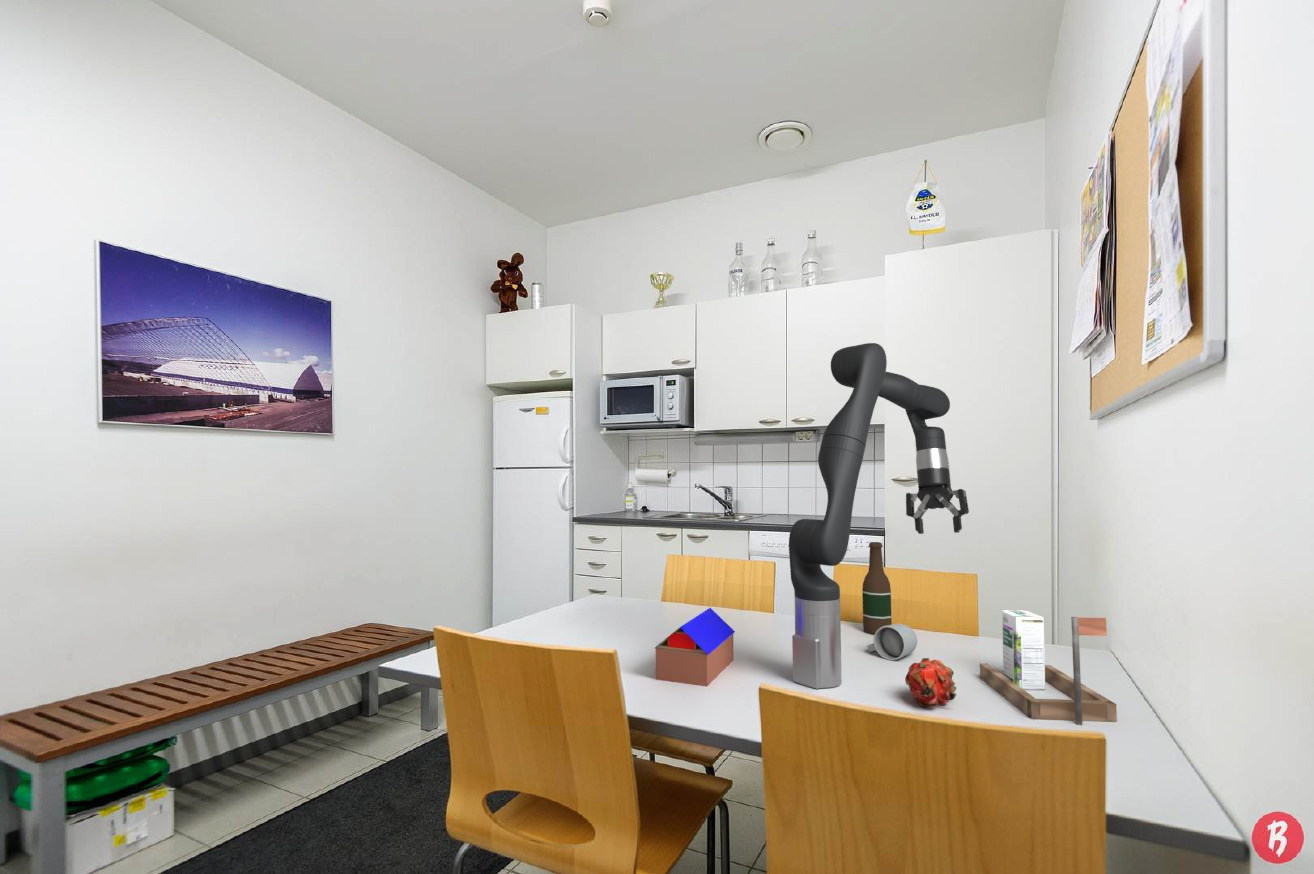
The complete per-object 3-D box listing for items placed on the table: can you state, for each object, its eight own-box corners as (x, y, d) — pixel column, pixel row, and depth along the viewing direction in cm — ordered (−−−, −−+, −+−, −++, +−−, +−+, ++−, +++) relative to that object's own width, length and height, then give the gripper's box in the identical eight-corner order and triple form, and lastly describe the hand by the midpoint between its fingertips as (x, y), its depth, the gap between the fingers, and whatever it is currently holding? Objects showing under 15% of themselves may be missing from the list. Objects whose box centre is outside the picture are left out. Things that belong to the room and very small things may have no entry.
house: (653, 680, 132) (653, 624, 132) (686, 654, 150) (686, 605, 151) (708, 688, 127) (707, 629, 128) (735, 660, 146) (734, 609, 146)
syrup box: (1002, 680, 130) (999, 609, 131) (1031, 680, 130) (1028, 609, 131) (1017, 690, 125) (1014, 615, 126) (1047, 690, 125) (1044, 615, 125)
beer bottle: (897, 631, 170) (895, 542, 171) (885, 637, 164) (883, 544, 166) (870, 627, 175) (868, 540, 177) (857, 632, 170) (855, 542, 171)
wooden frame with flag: (980, 677, 132) (977, 591, 133) (1050, 679, 131) (1047, 592, 132) (1037, 723, 108) (1033, 617, 109) (1124, 726, 107) (1119, 618, 108)
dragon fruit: (939, 700, 124) (932, 731, 113) (901, 670, 127) (890, 697, 116) (966, 670, 121) (961, 699, 110) (926, 640, 124) (918, 666, 113)
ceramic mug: (920, 656, 148) (918, 622, 148) (905, 663, 142) (904, 628, 143) (876, 648, 155) (875, 616, 156) (861, 655, 149) (860, 622, 150)
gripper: (899, 469, 161) (904, 533, 158) (958, 463, 152) (965, 531, 149) (909, 472, 167) (914, 534, 163) (967, 467, 158) (973, 532, 154)
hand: (938, 533), depth 156 cm, fingers open, 8 cm apart
